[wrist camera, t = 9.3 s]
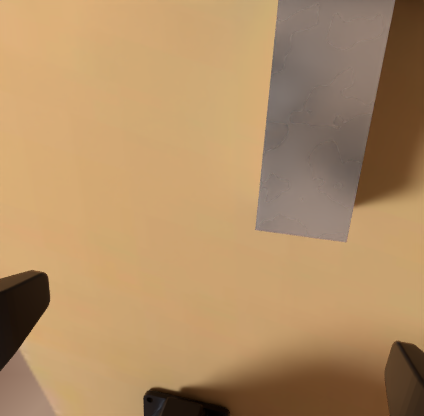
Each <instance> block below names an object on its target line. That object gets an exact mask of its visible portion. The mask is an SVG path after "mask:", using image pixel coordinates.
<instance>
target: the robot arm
mask: <svg viewBox="0 0 424 416" xmlns="http://www.w3.org/2000/svg"><path fill="white" fill-rule="evenodd" d="M49 302H50V290H49V281H48V276H47V274H46V273H44V272H40V271H34V270H31V271H27V272H23V273H19V274H16V275H12V276H8V277H5V278H1V279H0V371H1V370H2V369H3V368H4V366H5V365H6V364H7V363H8V362H9V360H10V359H11V358H12V357H13V355H14V354H15V353H16V351H17V350H18V349H19V347H20V346H21V345H22V343H23V342H24V340H25V339H26V337H27V336H28V335H29V333H30V332H31V330H32V329H33V327H34V326H35V325H36V323H37V322H38V320H39V319H40V317H41V316H42V315H43V313H44V312H45V310H46V309H47V307H48V305H49ZM385 385H386V392H387V399H388V406H389V414H390V416H424V352H423V351H422V350H421V349H419V348H418V347H417V346H416V345H414V344H411V343H406V342H400V341H396V342H394V343H393V345H392V348H391V351H390V354H389V358H388V361H387V364H386V368H385ZM143 400H144V416H230V412H229V410H228V409H226V408H224V407H220V406H215V405H211V404H207V403H203V402H198V401H194V400H190V399H186V398H181V397H177V396H173V395H169V394H164V393H160V392H156V391H151V390H149V391H147V392H146V393H145V395H144V398H143Z"/></svg>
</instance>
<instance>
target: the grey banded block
mask: <svg viewBox="0 0 424 416" xmlns="http://www.w3.org/2000/svg"><path fill="white" fill-rule="evenodd" d="M394 4H395V0H279V1H278V11H277V21H276V31H275V40H274V50H273V60H272V70H271V80H270V90H269V100H268V110H267V120H266V130H265V140H264V150H263V159H262V169H261V179H260V189H259V199H258V209H257V219H256V229H255V230H259V231H267V232H274V233H282V234H289V235H296V236H304V237H311V238H319V239H326V240H333V241H341V242H347V237H348V232H349V227H350V222H351V217H352V212H353V207H354V202H355V197H356V192H357V187H358V182H359V178H360V173H361V168H362V163H363V158H364V153H365V148H366V143H367V138H368V133H369V128H370V123H371V118H372V113H373V108H374V103H375V98H376V93H377V88H378V84H379V79H380V74H381V69H382V64H383V59H384V54H385V49H386V44H387V39H388V34H389V29H390V24H391V19H392V14H393V9H394Z"/></svg>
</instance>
